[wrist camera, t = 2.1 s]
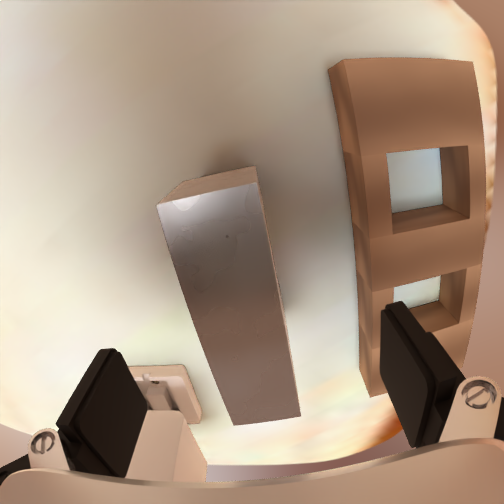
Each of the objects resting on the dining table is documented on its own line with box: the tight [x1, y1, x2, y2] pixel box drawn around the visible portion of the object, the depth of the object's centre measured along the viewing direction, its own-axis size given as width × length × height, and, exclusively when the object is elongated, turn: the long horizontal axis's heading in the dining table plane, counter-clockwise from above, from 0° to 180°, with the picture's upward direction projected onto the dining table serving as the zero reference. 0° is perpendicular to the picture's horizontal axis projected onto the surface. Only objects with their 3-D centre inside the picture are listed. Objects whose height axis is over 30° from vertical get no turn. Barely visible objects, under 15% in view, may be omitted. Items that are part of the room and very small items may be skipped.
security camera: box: [125, 365, 207, 482], centre depth 18 cm, size 6×7×10 cm
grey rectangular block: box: [156, 166, 301, 425], centre depth 15 cm, size 10×3×8 cm, turn 12°
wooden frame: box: [328, 58, 486, 397], centre depth 17 cm, size 20×8×3 cm, turn 12°
